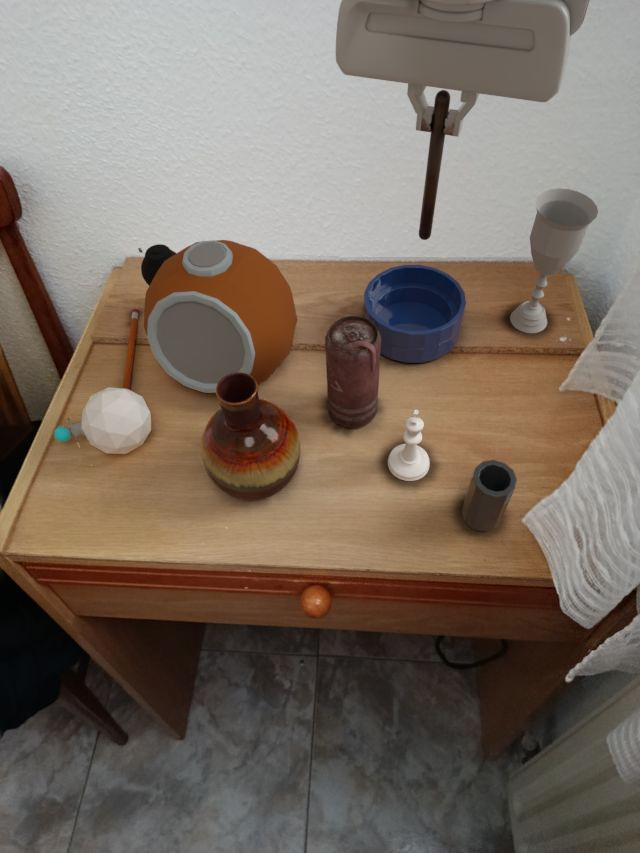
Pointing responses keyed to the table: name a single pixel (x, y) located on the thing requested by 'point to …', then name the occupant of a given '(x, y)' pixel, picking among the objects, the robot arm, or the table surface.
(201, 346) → the diving helmet
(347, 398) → the can
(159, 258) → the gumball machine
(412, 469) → the chess piece
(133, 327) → the pencil
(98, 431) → the perfume bottle
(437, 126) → the stick
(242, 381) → the vase
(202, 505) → the table surface
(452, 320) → the bowl
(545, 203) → the chalice
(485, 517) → the utensil pot
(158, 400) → the table surface
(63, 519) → the table surface
